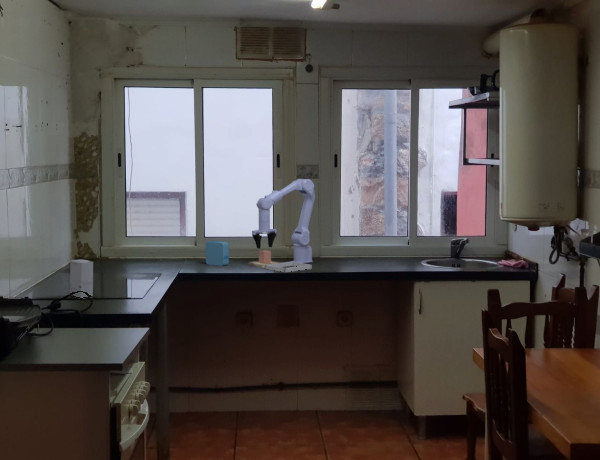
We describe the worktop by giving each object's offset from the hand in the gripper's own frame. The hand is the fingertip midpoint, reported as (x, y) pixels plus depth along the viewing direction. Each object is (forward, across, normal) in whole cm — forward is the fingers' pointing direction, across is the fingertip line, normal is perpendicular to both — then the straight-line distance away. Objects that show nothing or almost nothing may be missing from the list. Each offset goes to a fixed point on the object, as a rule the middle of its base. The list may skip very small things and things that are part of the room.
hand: (264, 247), depth 397 cm
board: (+9, 0, 0) cm, 9 cm away
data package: (+9, +17, -18) cm, 27 cm away
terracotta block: (+8, 0, 0) cm, 8 cm away
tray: (+9, -2, +17) cm, 19 cm away
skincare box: (+9, +109, +20) cm, 111 cm away
